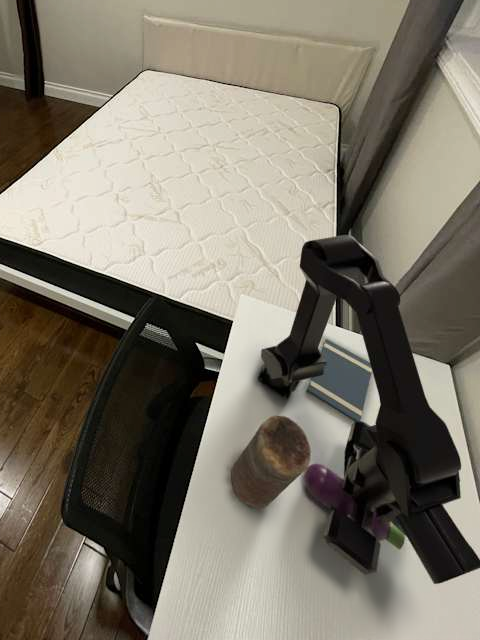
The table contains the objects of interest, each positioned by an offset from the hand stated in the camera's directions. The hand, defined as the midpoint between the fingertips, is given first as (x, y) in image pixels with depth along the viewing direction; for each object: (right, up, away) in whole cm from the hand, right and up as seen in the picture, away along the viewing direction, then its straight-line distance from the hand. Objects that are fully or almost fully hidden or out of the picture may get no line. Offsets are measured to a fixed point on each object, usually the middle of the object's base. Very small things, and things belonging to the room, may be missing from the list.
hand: (342, 501), depth 61 cm
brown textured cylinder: (-14, +1, +3) cm, 14 cm away
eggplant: (0, -1, +1) cm, 1 cm away
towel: (+9, +12, +17) cm, 23 cm away
